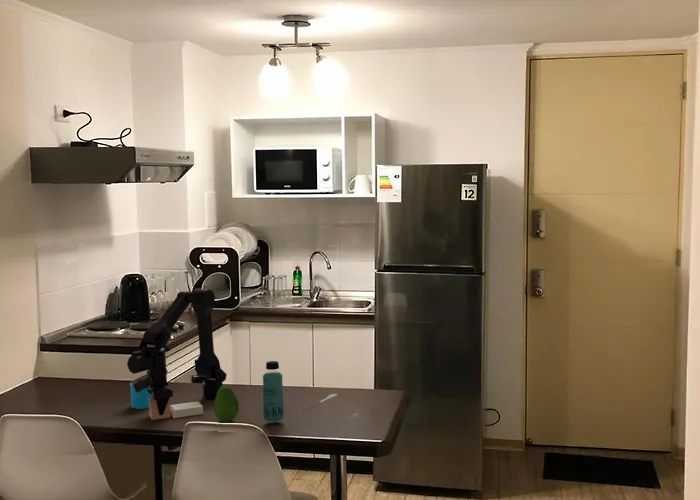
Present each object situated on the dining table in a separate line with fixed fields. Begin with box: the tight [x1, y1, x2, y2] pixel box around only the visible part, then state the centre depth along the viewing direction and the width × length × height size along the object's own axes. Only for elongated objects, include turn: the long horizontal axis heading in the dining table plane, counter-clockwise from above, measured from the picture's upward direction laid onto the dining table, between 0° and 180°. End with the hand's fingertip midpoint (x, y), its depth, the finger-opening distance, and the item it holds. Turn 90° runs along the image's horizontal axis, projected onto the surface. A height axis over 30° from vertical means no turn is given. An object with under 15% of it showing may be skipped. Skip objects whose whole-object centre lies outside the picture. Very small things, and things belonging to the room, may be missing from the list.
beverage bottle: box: [262, 360, 285, 423], centre depth 254 cm, size 6×7×20 cm
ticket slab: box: [170, 401, 204, 419], centre depth 269 cm, size 10×7×3 cm
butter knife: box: [318, 393, 338, 403], centre depth 277 cm, size 1×24×3 cm
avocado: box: [213, 384, 240, 423], centre depth 258 cm, size 8×8×12 cm
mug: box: [129, 382, 152, 410], centre depth 281 cm, size 12×8×8 cm
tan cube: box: [148, 398, 171, 421], centre depth 265 cm, size 6×5×6 cm
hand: (159, 413), depth 266 cm, fingers closed on tan cube, 5 cm apart
